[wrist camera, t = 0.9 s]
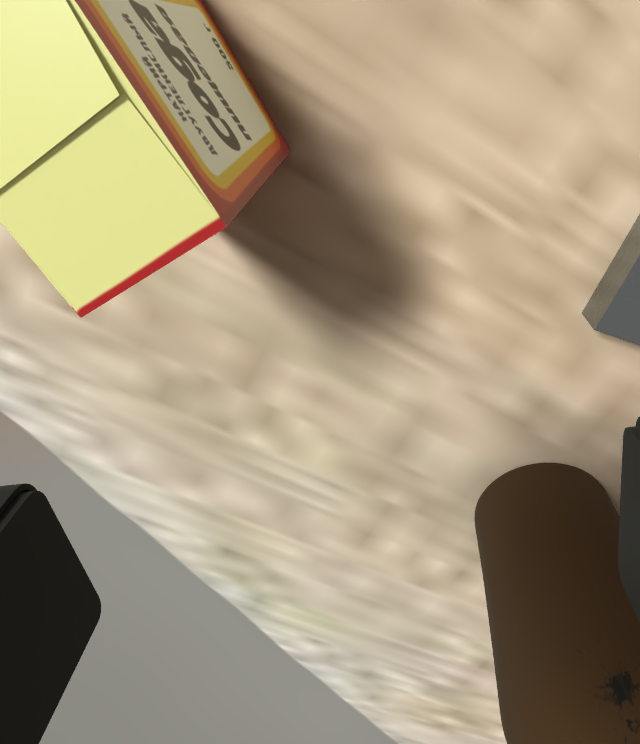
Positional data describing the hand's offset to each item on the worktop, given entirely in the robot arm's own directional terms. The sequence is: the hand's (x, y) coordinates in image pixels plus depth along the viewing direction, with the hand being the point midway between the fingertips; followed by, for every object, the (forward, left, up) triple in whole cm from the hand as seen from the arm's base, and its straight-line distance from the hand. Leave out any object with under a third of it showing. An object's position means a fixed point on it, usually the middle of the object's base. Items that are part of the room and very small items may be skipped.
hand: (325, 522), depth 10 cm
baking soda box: (-1, -10, -27) cm, 29 cm away
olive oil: (+18, +20, -27) cm, 38 cm away
